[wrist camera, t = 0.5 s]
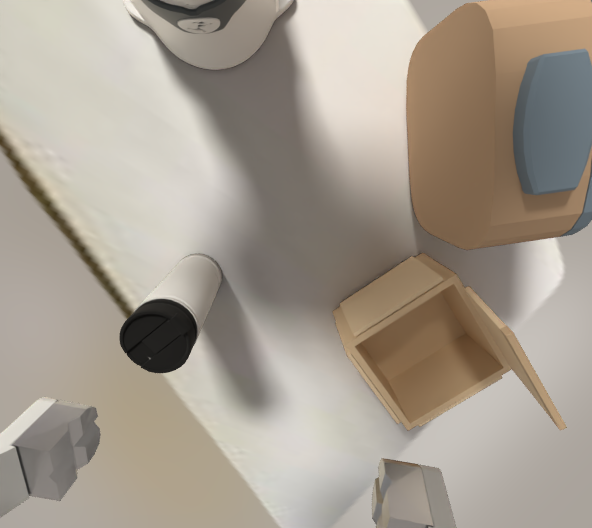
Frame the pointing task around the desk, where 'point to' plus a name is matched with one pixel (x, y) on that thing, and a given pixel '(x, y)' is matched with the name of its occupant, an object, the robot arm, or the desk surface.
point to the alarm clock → (502, 122)
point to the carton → (419, 341)
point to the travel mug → (172, 315)
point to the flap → (515, 356)
